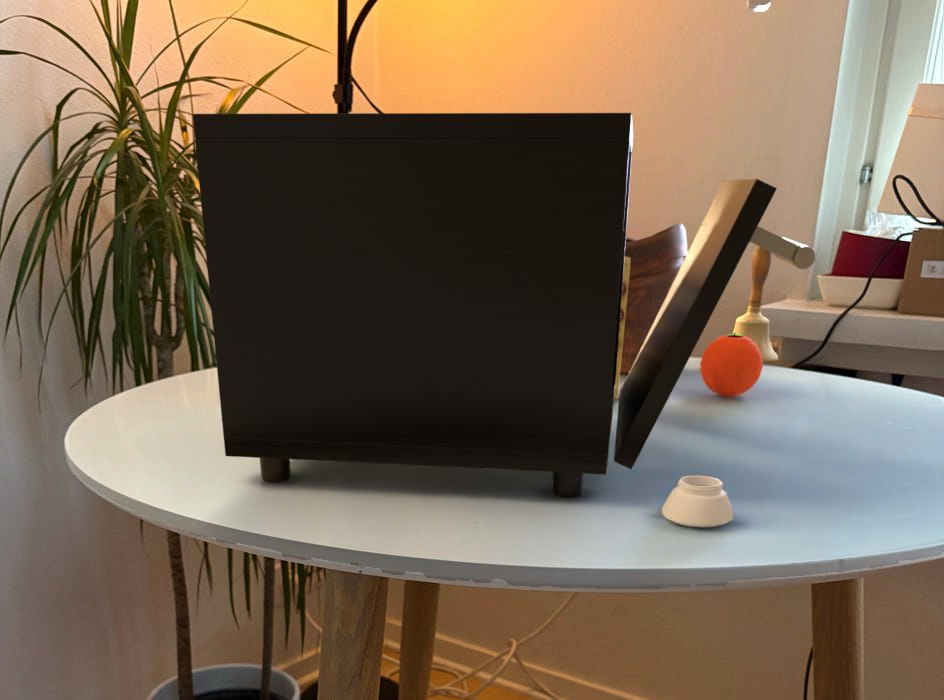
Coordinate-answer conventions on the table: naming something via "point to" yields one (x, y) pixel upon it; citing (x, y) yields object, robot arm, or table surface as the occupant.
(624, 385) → the oven door
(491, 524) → the table surface
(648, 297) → the terracotta flower pot
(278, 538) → the table surface
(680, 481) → the white jar
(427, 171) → the oven
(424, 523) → the table surface
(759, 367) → the clementine
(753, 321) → the hand bell
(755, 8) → the robot arm
